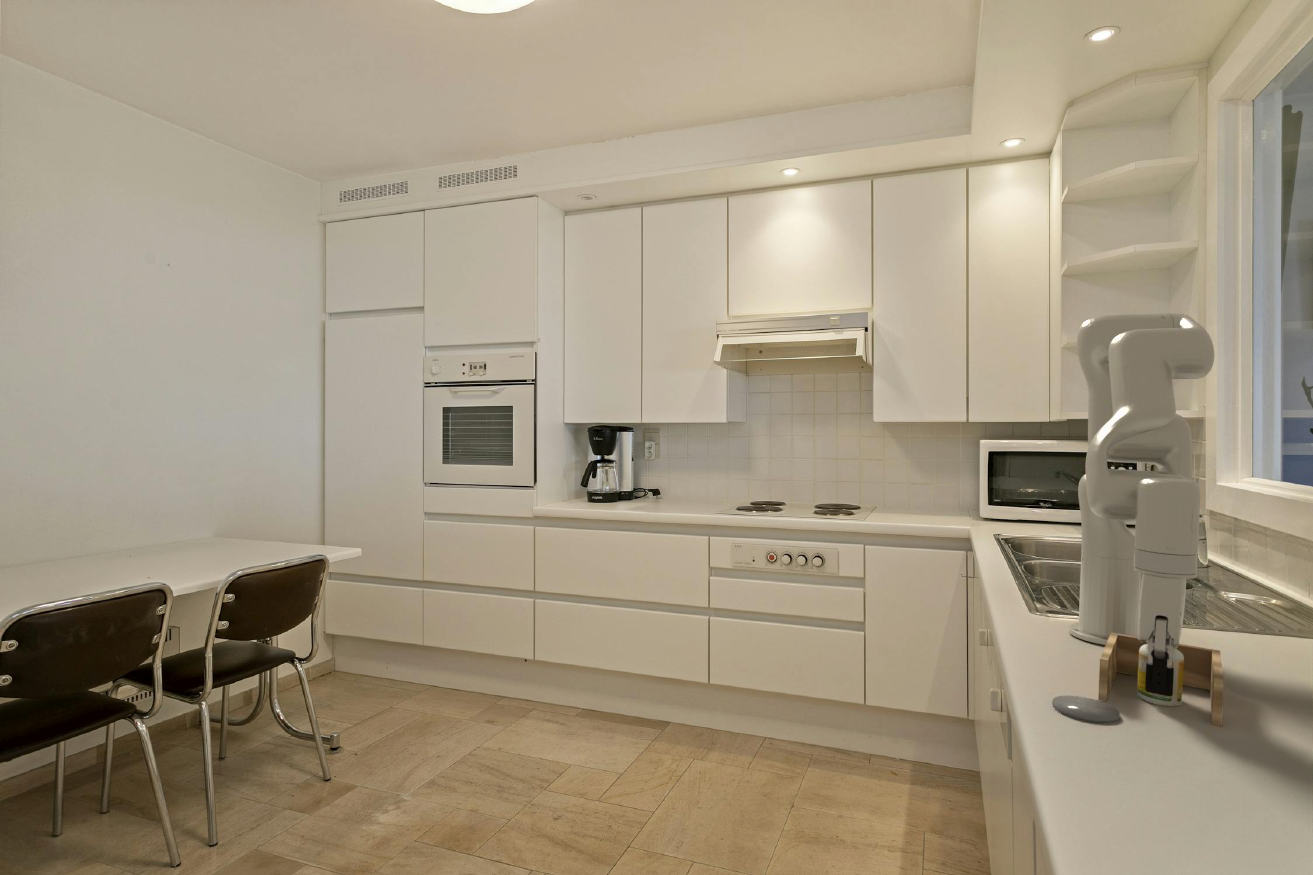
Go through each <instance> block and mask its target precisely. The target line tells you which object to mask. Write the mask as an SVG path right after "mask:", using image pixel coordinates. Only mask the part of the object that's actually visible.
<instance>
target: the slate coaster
mask: <svg viewBox="0 0 1313 875" xmlns="http://www.w3.org/2000/svg"><path fill="white" fill-rule="evenodd" d="M1051 702H1052V704H1051V705H1053V706H1052V708H1053V707H1054V708H1055V709H1054V708H1053V709H1054V710H1055V711H1057V712H1058V711H1059V712H1058V713H1060V712H1061V713H1060V714H1062V715H1064V716H1066V715H1067V716H1066V717H1069V718H1072V719H1075V720H1078V719H1079V720H1078V721H1084V722H1089V723H1094V724H1113V723H1117V722H1118V721H1119V720H1120V711H1119V710H1118V709H1117V708H1116V707H1114V706H1112V705H1111V704H1108V703H1105V701H1101V700H1098V699H1094V698H1090V697H1086V696H1085V697H1084V696H1080V695H1079V696H1078V695H1058V696H1055V697H1054V698H1052V700H1051Z"/></svg>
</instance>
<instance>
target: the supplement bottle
mask: <svg viewBox="0 0 1313 875" xmlns="http://www.w3.org/2000/svg"><path fill="white" fill-rule="evenodd" d="M1169 639H1170V636H1169ZM1146 642H1147V644H1145V645H1143V646H1141V647H1140V649H1139V665H1138V676H1137V687H1136V688H1137V691H1136V694H1137V696H1138V698H1140V699H1142V700H1143V701H1144V702H1145V701H1146V702H1148V703H1150V704H1154V705H1158V706H1162V707H1163V706H1164V707H1177V706H1179V705H1181V703H1182V701H1183V700H1182V698H1183V685H1182V684H1183V666H1184V656H1183V654H1182V653H1181V652H1180V651H1179V650H1177V649H1176V648H1177V647H1178V646H1179V645H1178V646H1177V647H1175V648H1173V650H1172V668H1174V677H1173V695H1172V696H1165V695H1160V694H1155V693H1150V692H1147V691H1146V690H1145V680H1146V663H1148V655H1149V638H1148V640H1147V641H1146ZM1153 642H1154V643H1155V639H1153ZM1166 645H1170V640H1169V641H1166ZM1153 649H1154V648H1153ZM1165 651H1166V652H1167V653H1168V650H1166V649H1165ZM1167 659H1168V658H1167Z"/></svg>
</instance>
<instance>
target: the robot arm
mask: <svg viewBox="0 0 1313 875" xmlns="http://www.w3.org/2000/svg"><path fill="white" fill-rule="evenodd" d="M1076 338H1077V339H1076V349H1077V356H1078V361H1079V364H1080V367H1081V370H1082V373H1083V375H1084V378H1085V381H1086V385H1087V390H1088V399H1087V400H1088V403H1087V405H1088V411H1087V413H1088V414H1087V417H1088V418H1087V426H1088V427H1087V444H1088V449H1087V452H1086V457H1085V466H1084V467H1085V474H1083V476H1081V478H1080V480H1079V483H1078V488H1077V494H1078V496H1077V497H1078V504H1079V511H1080V521H1081V545H1080V546H1081V548H1080V549H1081V550H1080V551H1081V555H1080V556H1081V558H1080V580H1079V583H1080V584H1079V602H1078V604H1079V605H1078V606H1079V607H1078V622H1075V623H1071V624H1070V625H1069V626H1068V632H1069V634H1070V635H1071V636H1073V637H1074V638H1077V639H1080V640H1082V641H1085V642H1088V643H1093V644H1097V645H1103V646H1106V643H1107V641H1108V639H1109V636H1110V634H1111V632H1112V633H1118V634H1124V635H1130V636H1136V637H1137V639H1138V641H1139V642H1141V643H1142V642H1143V640H1144V641H1147V640H1148V638H1149V655H1148V663H1146V680H1145V690H1146V691H1147V692H1150V693H1155V694H1160V695H1165V696H1172V695H1173V677H1174V668H1172V650H1173V648H1175V647H1177V646H1178V645H1179V644H1180V640H1181V635H1182V630H1183V624H1184V617H1185V608H1186V606H1185V605H1186V591H1187V590H1186V588H1187V579H1189V580H1190V579H1192V580H1193V579H1196V578H1198V560H1199V540H1200V538H1199V537H1200V514H1201V487H1200V485H1199V484H1198V483H1197V482H1195V481H1194V480H1193V438H1192V437H1193V436H1192V431H1191V427H1190V424H1189V423H1188V421H1187V420H1186V418H1185V417H1183V416H1182V415H1180V414H1178V413H1177V408H1176V406H1177V405H1176V401H1175V400H1176V399H1175V393H1174V392H1175V391H1174V384H1173V380H1199V379H1202V378H1205V377H1206V376H1207V375H1208V374H1209V373H1210V372H1211V371H1212V369H1213V366H1214V362H1215V348H1214V344H1213V340H1212V338H1211V335H1210V334H1209V332H1208V331H1207V330H1206V329H1205V327H1203V326H1202V325H1201V324H1200V323H1199V322H1197V321H1196V320H1195V319H1194V318H1192V317H1191V316H1190V315H1187V314H1184V313H1145V314H1144V313H1142V314H1137V313H1135V314H1134V313H1133V314H1132V313H1131V314H1127V313H1126V314H1109V315H1100V316H1095V317H1092V318H1089V319H1087V320H1085V321H1084V322H1083V323H1082V324H1081V325H1080V326H1079V329H1078V331H1077V337H1076ZM1108 462H1109V463H1110V462H1113V463H1128V464H1129V463H1130V464H1131V463H1133V464H1150V465H1151V464H1153V465H1155V466H1156V467H1157V470H1158V471H1154V470H1138V469H1137V470H1136V469H1119V468H1118V469H1116V468H1109V467H1108ZM1127 523H1135V524H1134V525H1135V526H1134V533H1133V532H1132V531H1131V530H1130V529H1129V528H1128V527H1127V525H1126V524H1127ZM1169 636H1170V639H1169ZM1153 639H1155V643H1154V642H1153ZM1169 640H1170V645H1166V641H1169ZM1153 648H1154V649H1153ZM1165 649H1166V650H1168V653H1167V652H1166V651H1165ZM1167 658H1168V659H1167Z"/></svg>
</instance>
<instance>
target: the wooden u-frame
mask: <svg viewBox="0 0 1313 875" xmlns="http://www.w3.org/2000/svg"><path fill="white" fill-rule="evenodd" d="M1145 644H1147V642H1146V641H1144V640H1143V642H1142V643H1141V642H1139V641H1138V639H1137V637H1136V636H1130V635H1124V634H1118V633H1112V632H1111V634H1110V636H1109V639H1108V641H1107V643H1106V645H1104V648H1103V651H1102V653H1101V655H1100V658H1099V672H1098V673H1099V674H1098V695H1097V696H1098V699H1097V700H1098V701H1101V700H1102V701H1101V702H1106V701H1108V699H1109V696H1110V692H1111V689H1112V687H1113V683H1114V680H1115V677H1116V674H1117V673H1121V674H1126V675H1131V676H1136V677H1138V665H1139V649H1140V647H1141V646H1143V645H1145ZM1176 649H1177V650H1179V651H1180V652H1181V653H1182V654H1183V656H1184V666H1183V684H1182V686H1187V687H1192V688H1198V689H1202V690H1203V689H1204V690H1206V691H1207V690H1208V691H1209V694H1210V710H1211V711H1210V712H1211V725H1212V726H1216V727H1222V724H1223V722H1222V721H1223V720H1222V719H1223V702H1224V701H1223V699H1224V676H1223V675H1224V674H1223V663H1222V657H1221V650H1218V649H1213V648H1206V647H1200V646H1194V645H1190V644H1189V645H1188V644H1183V643H1182V644H1181V643H1179V646H1178V647H1177V648H1176ZM1107 698H1108V699H1107Z"/></svg>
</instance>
